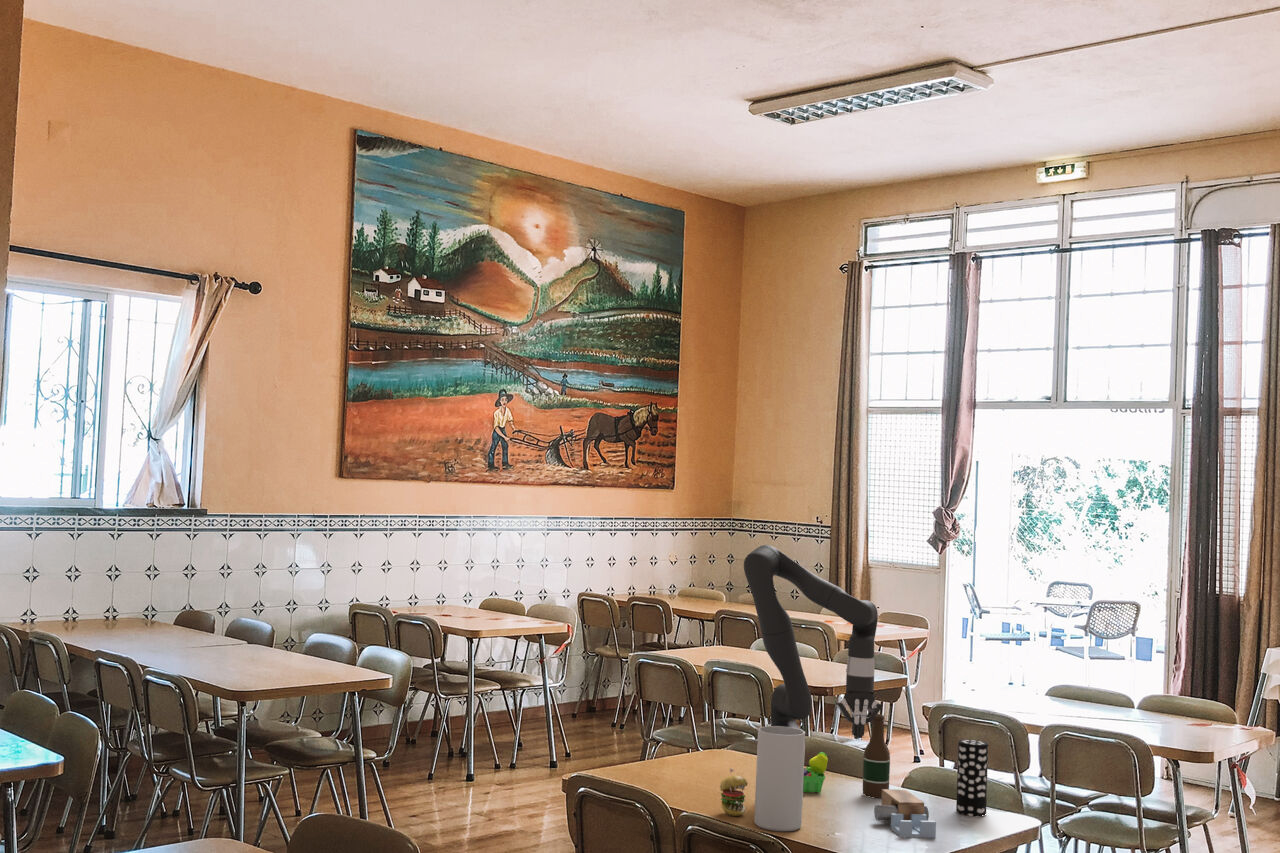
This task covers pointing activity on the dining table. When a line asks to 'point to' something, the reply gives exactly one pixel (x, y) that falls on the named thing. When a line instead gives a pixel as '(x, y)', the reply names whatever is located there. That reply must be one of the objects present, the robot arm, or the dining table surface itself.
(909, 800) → the beam
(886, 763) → the beer bottle
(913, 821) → the cradle
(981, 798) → the spotted tube
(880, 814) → the axle
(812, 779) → the fruit basket
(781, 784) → the cylinder vase
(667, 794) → the dining table surface
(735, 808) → the hamburger
